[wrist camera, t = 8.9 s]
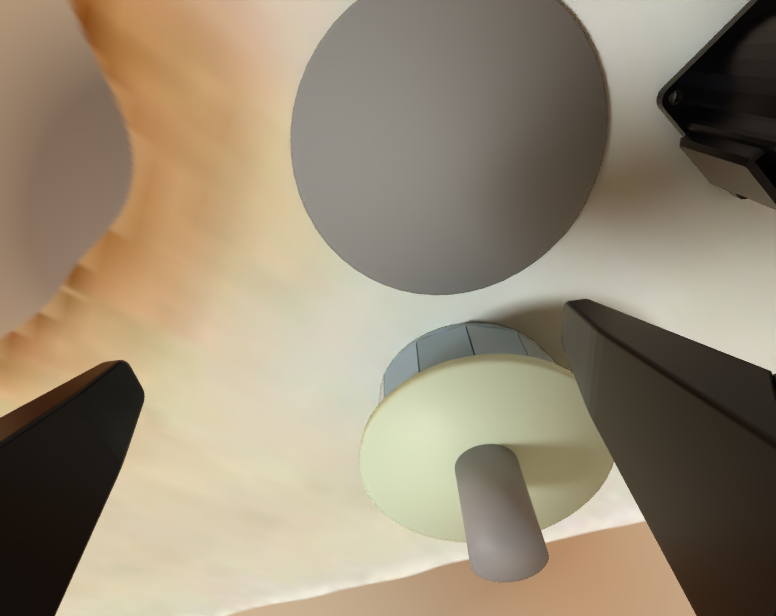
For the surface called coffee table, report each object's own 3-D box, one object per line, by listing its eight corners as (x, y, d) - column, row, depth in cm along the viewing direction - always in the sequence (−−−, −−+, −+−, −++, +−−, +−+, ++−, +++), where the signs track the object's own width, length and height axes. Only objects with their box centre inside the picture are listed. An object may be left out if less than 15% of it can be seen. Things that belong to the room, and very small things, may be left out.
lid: (484, 302, 17) (519, 392, 13) (660, 440, 21) (735, 546, 17) (312, 465, 22) (292, 574, 17) (482, 554, 26) (503, 662, 21)
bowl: (462, 286, 22) (479, 335, 18) (591, 383, 25) (627, 442, 21) (345, 406, 26) (338, 466, 22) (469, 476, 29) (481, 540, 25)
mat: (435, -140, 14) (436, -144, 14) (668, 133, 18) (672, 134, 18) (233, 179, 19) (231, 181, 19) (452, 336, 23) (453, 339, 23)
